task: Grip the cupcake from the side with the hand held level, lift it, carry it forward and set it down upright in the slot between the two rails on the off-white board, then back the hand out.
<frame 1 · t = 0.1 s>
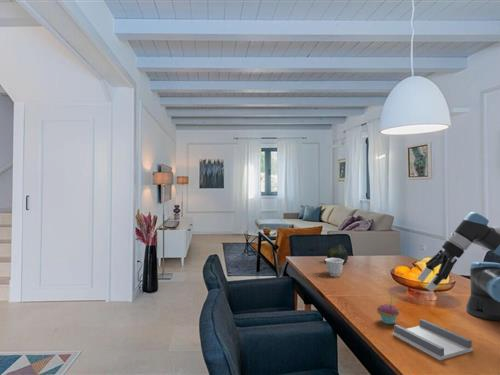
hand: (423, 284, 140), 15 cm above the table, tool tilted 35°, fingers open, 13 cm apart
rail board: (430, 342, 121), on the table
squash: (337, 263, 242), on the table
teacup: (334, 275, 212), on the table
cupcake: (388, 322, 139), on the table
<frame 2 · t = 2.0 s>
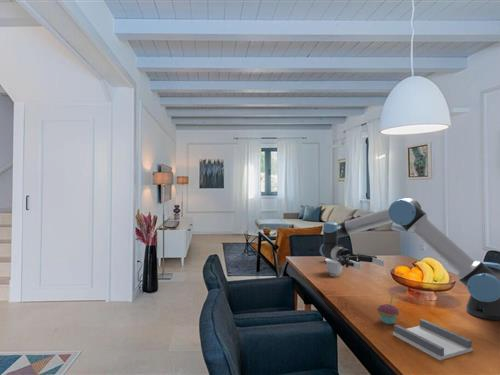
hand: (371, 264, 148), 22 cm above the table, tool horizontal, fingers open, 13 cm apart
nothing on the table moved.
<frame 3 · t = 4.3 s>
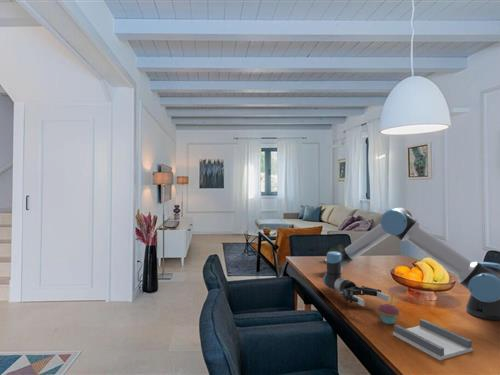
hand: (376, 300, 145), 7 cm above the table, tool horizontal, fingers open, 13 cm apart
nothing on the table moved.
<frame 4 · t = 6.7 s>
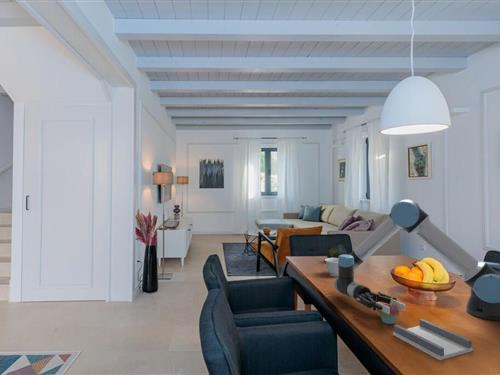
hand: (396, 309, 134), 7 cm above the table, tool horizontal, fingers closed on cupcake, 8 cm apart
cupcake: (388, 322, 139), on the table, touching gripper
everything else where it was.
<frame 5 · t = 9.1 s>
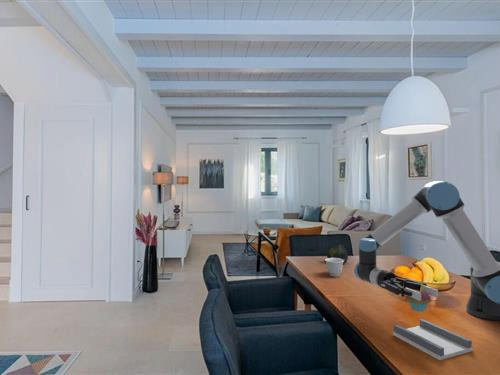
hand: (428, 295, 120), 18 cm above the table, tool horizontal, fingers closed on cupcake, 8 cm apart
cupcake: (418, 310, 124), point 10 cm above the table, touching gripper
everything else where it was.
when the fingers open (10 cm above the table, at t = 11.4 s): cupcake drops 1 cm, resting on rail board.
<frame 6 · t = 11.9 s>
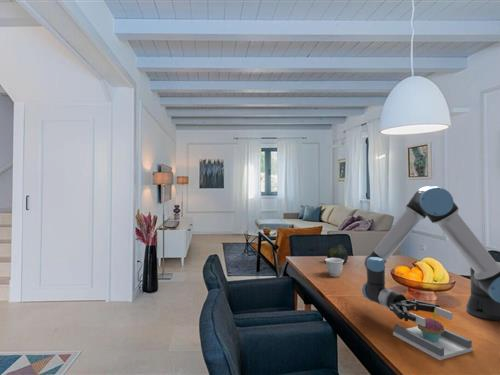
hand: (438, 319, 117), 10 cm above the table, tool horizontal, fingers open, 13 cm apart
cupcake: (430, 339, 121), point 1 cm above the table, touching rail board
everything else where it was.
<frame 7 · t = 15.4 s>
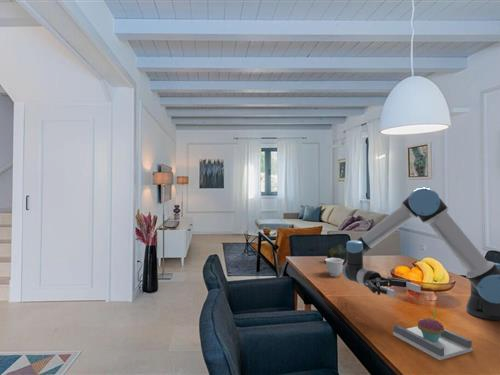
hand: (407, 291, 130), 16 cm above the table, tool horizontal, fingers open, 13 cm apart
nothing on the table moved.
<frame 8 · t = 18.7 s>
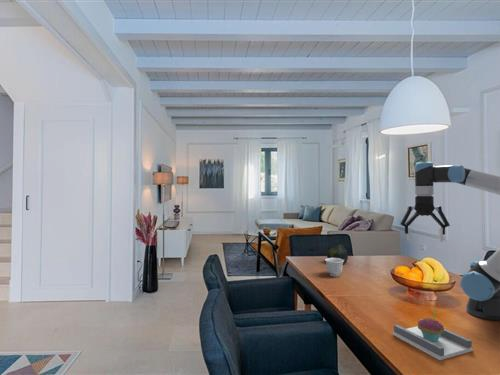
hand: (424, 241, 152), 32 cm above the table, tool pointing down, fingers open, 13 cm apart
nothing on the table moved.
at the end: cupcake inside the target area on the rail board (0.1 cm from its centre), point 1.0 cm above the rail board's base; cupcake tilted 0°; the gripper is holding nothing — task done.
